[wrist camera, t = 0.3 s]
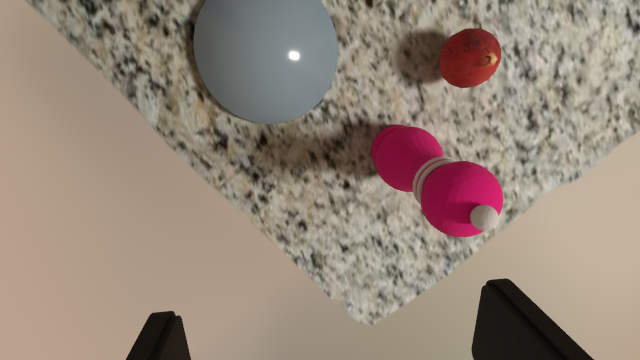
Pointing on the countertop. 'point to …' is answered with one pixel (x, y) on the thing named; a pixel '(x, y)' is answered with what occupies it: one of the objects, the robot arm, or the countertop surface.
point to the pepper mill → (438, 181)
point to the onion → (469, 58)
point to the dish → (266, 56)
